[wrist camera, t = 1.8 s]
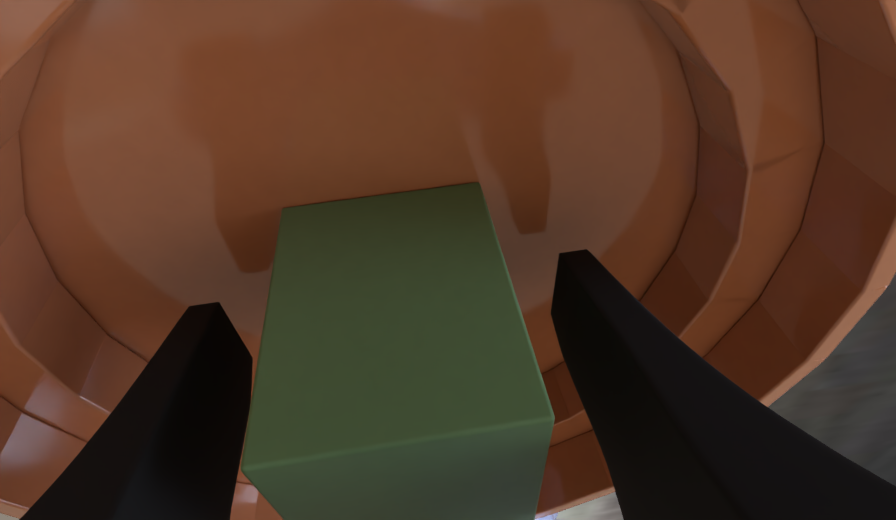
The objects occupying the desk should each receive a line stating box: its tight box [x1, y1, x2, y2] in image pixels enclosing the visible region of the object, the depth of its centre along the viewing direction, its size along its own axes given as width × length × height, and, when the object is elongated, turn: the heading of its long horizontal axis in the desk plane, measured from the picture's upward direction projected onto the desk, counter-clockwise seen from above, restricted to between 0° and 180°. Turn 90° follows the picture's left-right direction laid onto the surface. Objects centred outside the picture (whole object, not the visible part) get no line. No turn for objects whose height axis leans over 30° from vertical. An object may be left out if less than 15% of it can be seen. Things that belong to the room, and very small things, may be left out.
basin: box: [0, 0, 896, 520], centre depth 11 cm, size 18×18×4 cm
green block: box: [240, 182, 555, 520], centre depth 10 cm, size 4×4×6 cm
